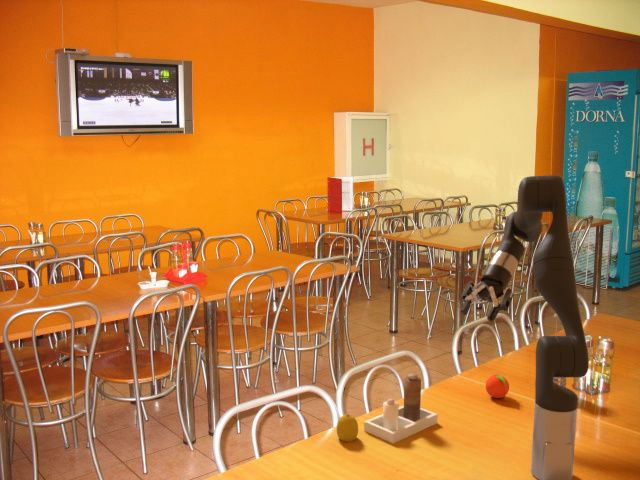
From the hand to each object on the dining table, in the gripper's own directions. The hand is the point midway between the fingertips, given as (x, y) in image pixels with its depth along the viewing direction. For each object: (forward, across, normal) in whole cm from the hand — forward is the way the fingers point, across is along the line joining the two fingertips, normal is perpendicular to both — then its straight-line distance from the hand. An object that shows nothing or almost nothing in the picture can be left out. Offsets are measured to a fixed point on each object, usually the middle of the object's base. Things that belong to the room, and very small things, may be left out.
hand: (475, 316), depth 192 cm
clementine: (+10, 0, +30) cm, 31 cm away
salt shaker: (+40, -5, -3) cm, 40 cm away
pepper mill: (+34, -5, +3) cm, 34 cm away
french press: (-2, +9, +41) cm, 42 cm away
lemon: (+49, -10, -9) cm, 51 cm away
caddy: (+38, -5, +1) cm, 38 cm away
